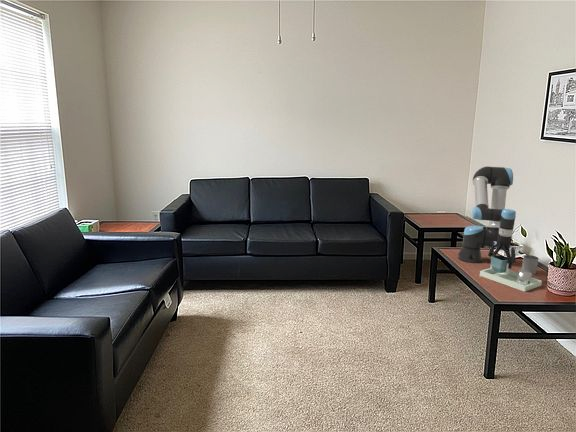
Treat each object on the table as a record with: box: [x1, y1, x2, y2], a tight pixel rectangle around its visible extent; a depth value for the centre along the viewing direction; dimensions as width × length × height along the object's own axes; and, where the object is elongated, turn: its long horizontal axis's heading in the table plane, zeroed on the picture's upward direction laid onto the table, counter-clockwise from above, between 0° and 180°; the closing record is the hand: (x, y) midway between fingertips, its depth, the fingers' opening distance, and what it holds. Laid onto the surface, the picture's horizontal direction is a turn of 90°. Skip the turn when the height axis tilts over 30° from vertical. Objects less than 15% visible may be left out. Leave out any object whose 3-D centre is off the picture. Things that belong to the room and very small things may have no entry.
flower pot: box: [490, 254, 508, 273], centre depth 267 cm, size 9×9×9 cm
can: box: [516, 269, 533, 286], centre depth 256 cm, size 7×7×8 cm
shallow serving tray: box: [479, 267, 543, 292], centre depth 263 cm, size 28×18×4 cm, turn 34°
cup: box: [520, 254, 539, 275], centre depth 281 cm, size 8×8×10 cm
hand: (499, 270), depth 268 cm, fingers closed on flower pot, 9 cm apart
